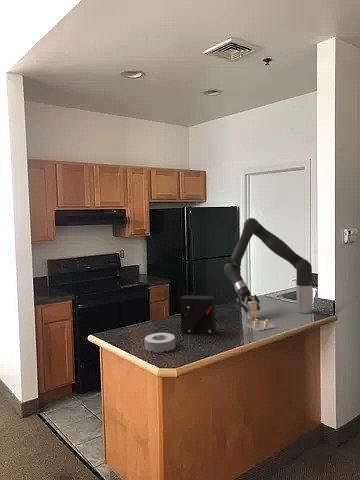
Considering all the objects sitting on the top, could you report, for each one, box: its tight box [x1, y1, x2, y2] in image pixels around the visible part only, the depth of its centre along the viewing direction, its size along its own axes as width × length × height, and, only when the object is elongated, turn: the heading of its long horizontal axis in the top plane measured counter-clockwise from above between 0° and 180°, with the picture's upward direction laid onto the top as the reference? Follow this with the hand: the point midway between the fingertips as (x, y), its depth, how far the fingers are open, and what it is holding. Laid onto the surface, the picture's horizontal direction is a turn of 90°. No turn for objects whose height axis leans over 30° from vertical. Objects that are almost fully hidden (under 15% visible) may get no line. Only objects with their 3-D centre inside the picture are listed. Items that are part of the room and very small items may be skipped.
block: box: [246, 300, 258, 320], centre depth 245 cm, size 4×4×10 cm
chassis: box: [245, 318, 277, 331], centre depth 228 cm, size 12×12×4 cm
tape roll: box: [144, 332, 176, 353], centre depth 201 cm, size 15×15×5 cm
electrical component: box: [179, 295, 217, 336], centre depth 222 cm, size 18×10×20 cm, turn 71°
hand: (253, 311), depth 244 cm, fingers open, 8 cm apart
